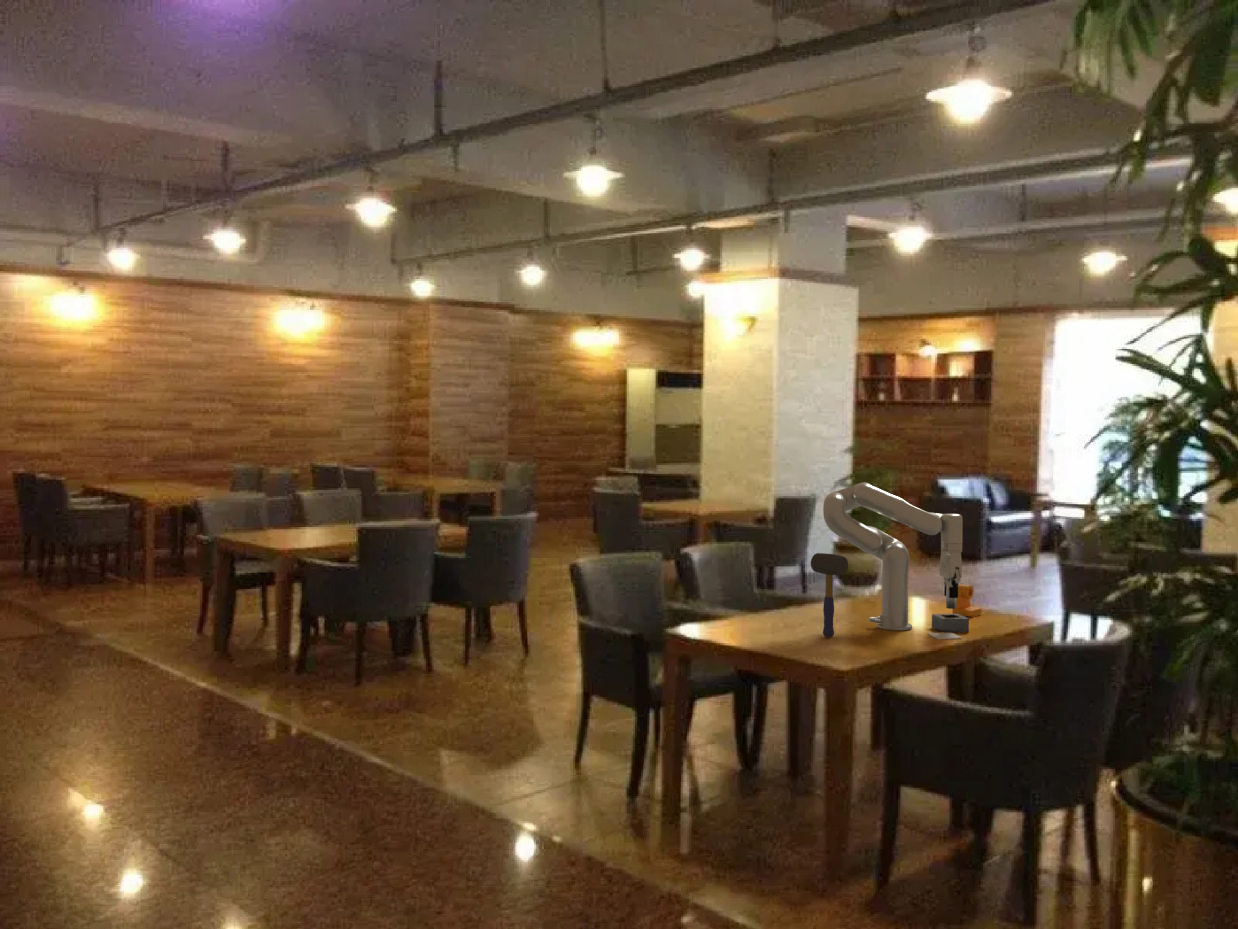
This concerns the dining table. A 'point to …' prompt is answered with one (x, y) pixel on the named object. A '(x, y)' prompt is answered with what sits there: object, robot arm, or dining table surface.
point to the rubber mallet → (829, 583)
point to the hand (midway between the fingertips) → (951, 596)
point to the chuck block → (950, 623)
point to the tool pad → (944, 635)
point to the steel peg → (949, 601)
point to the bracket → (965, 602)
